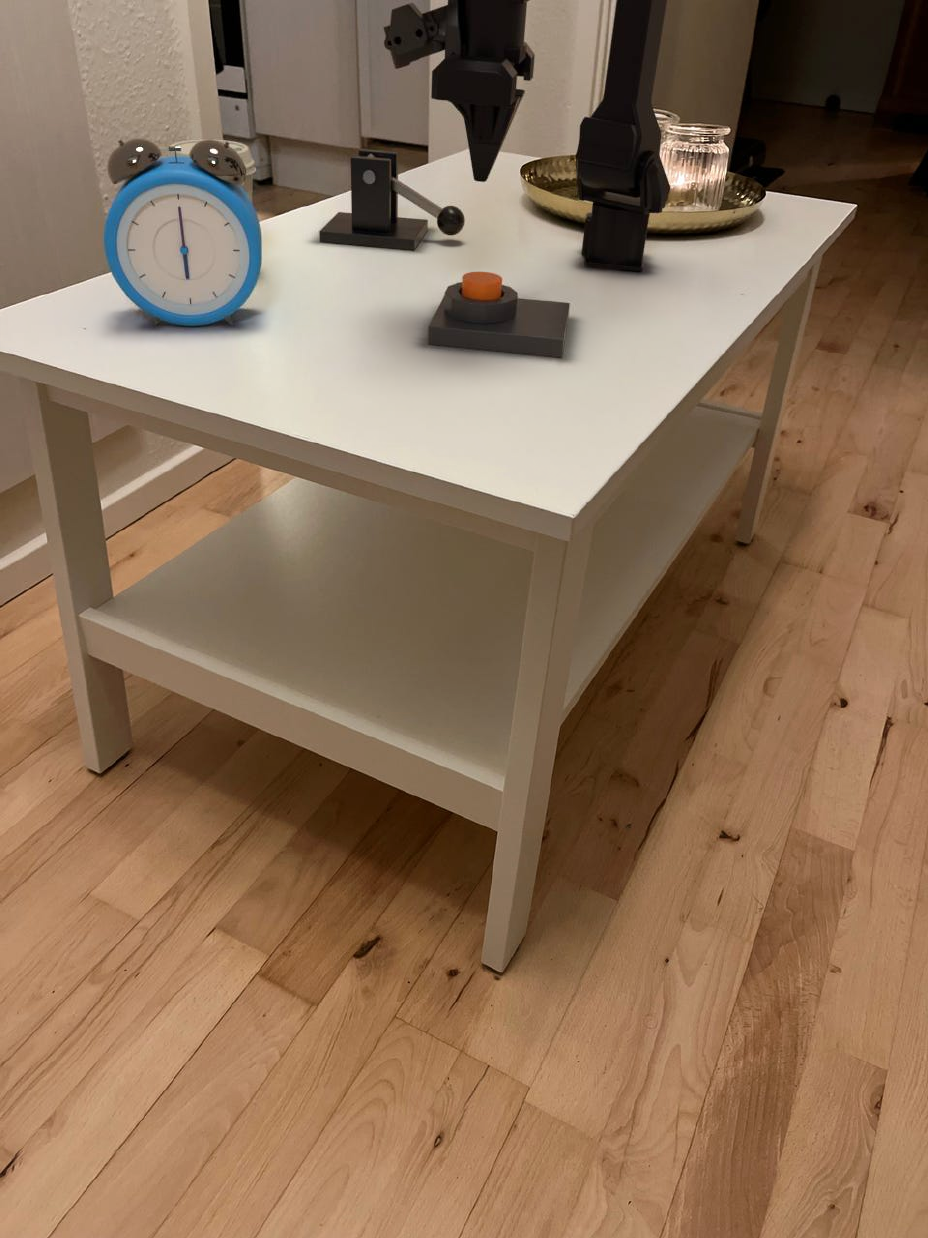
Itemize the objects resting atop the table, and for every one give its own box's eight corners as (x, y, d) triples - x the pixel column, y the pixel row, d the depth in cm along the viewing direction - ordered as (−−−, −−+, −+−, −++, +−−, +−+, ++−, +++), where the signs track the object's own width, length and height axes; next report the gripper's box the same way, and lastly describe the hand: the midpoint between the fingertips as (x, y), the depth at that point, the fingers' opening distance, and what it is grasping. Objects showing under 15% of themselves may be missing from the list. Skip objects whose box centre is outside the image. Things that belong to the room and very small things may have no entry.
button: (502, 292, 91) (504, 273, 90) (498, 304, 88) (499, 285, 87) (464, 288, 92) (465, 269, 90) (458, 301, 89) (459, 281, 88)
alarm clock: (116, 330, 87) (86, 145, 78) (124, 306, 92) (96, 130, 83) (266, 328, 89) (254, 148, 81) (266, 305, 94) (254, 133, 85)
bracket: (427, 229, 119) (429, 150, 114) (414, 250, 112) (415, 166, 106) (338, 221, 120) (336, 142, 115) (319, 241, 112) (316, 158, 107)
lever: (457, 236, 116) (471, 212, 114) (453, 244, 113) (467, 219, 112) (360, 174, 113) (373, 148, 112) (354, 180, 111) (367, 154, 109)
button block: (568, 320, 95) (572, 283, 93) (561, 357, 87) (566, 318, 85) (445, 308, 96) (446, 272, 94) (427, 344, 88) (428, 305, 86)
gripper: (416, -41, 86) (411, 153, 95) (366, -35, 71) (366, 195, 80) (542, -32, 85) (526, 163, 94) (519, -24, 70) (502, 208, 79)
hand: (480, 180), depth 87 cm, fingers closed
